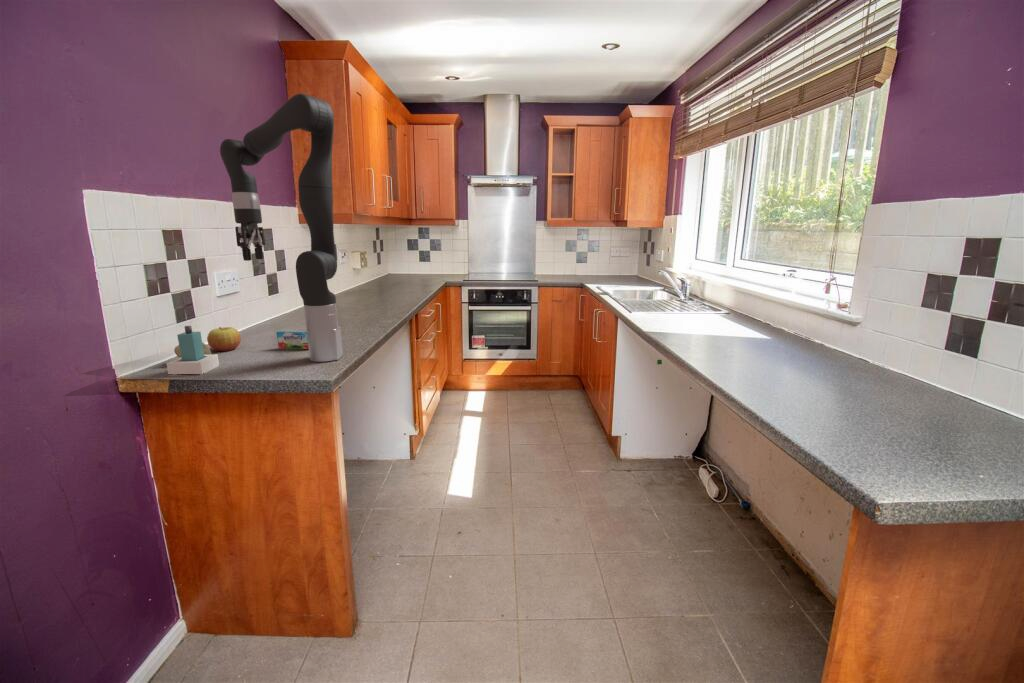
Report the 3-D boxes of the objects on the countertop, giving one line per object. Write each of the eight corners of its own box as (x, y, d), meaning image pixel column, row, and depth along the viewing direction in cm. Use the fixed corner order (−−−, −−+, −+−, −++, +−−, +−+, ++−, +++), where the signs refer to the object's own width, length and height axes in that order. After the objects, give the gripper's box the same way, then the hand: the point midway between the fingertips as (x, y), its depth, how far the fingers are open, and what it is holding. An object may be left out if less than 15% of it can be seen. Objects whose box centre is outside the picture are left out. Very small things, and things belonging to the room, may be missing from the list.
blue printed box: (278, 349, 160) (276, 331, 158) (281, 348, 161) (279, 330, 160) (311, 350, 158) (309, 332, 157) (314, 349, 160) (312, 331, 158)
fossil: (168, 348, 138) (192, 334, 147) (163, 357, 140) (187, 343, 149) (196, 366, 140) (218, 351, 149) (190, 375, 142) (212, 360, 151)
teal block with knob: (206, 368, 138) (199, 324, 135) (198, 372, 134) (191, 327, 131) (192, 368, 137) (184, 325, 134) (183, 372, 134) (176, 327, 131)
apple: (202, 353, 156) (198, 329, 154) (221, 346, 165) (218, 323, 163) (230, 353, 155) (226, 329, 153) (248, 346, 164) (245, 323, 163)
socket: (219, 365, 140) (217, 354, 139) (202, 374, 131) (200, 362, 131) (187, 366, 140) (185, 355, 139) (168, 375, 131) (166, 363, 130)
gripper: (248, 206, 142) (256, 261, 146) (268, 209, 156) (275, 258, 159) (223, 206, 141) (230, 261, 145) (245, 209, 155) (252, 258, 159)
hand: (253, 259), depth 152 cm, fingers open, 8 cm apart
